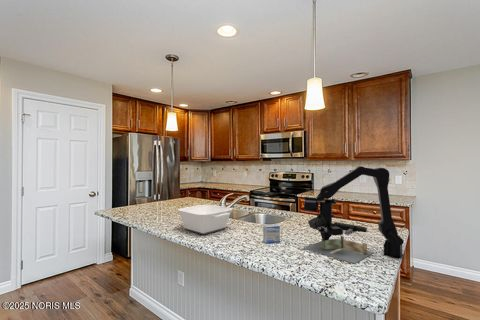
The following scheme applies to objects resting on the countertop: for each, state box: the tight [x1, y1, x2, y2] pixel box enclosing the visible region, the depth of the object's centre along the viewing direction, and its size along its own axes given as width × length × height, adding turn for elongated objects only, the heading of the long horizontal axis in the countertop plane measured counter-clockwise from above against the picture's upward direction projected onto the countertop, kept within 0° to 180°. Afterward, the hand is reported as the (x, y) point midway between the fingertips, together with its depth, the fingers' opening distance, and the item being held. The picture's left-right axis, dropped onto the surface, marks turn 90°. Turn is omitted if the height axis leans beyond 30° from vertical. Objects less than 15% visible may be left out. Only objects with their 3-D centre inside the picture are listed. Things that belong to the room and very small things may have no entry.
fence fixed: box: [340, 235, 368, 255], centre depth 120 cm, size 12×2×6 cm, turn 41°
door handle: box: [331, 221, 368, 235], centre depth 157 cm, size 3×20×16 cm
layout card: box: [303, 240, 374, 265], centre depth 121 cm, size 25×19×1 cm
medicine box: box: [262, 224, 281, 245], centre depth 134 cm, size 8×4×9 cm, turn 105°
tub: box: [177, 204, 233, 236], centre depth 158 cm, size 34×27×13 cm
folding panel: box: [320, 238, 341, 250], centre depth 122 cm, size 10×2×4 cm, turn 105°
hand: (324, 244), depth 124 cm, fingers closed
